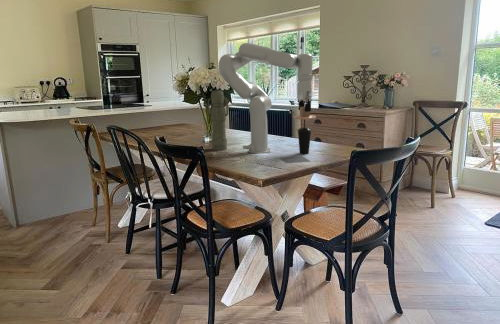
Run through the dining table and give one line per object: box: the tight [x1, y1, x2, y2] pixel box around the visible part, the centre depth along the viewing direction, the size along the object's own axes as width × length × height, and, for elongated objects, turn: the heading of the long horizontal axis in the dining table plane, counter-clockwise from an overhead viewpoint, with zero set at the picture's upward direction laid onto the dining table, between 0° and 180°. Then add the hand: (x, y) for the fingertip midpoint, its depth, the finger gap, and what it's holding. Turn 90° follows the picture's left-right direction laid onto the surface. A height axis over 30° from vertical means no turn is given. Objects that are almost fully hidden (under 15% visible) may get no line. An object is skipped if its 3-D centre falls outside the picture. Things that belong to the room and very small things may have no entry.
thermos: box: [207, 89, 229, 152], centre depth 223 cm, size 9×12×35 cm
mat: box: [279, 155, 312, 164], centre depth 194 cm, size 13×13×1 cm
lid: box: [293, 106, 317, 120], centre depth 203 cm, size 12×12×6 cm
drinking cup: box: [296, 119, 312, 155], centre depth 206 cm, size 8×8×20 cm
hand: (304, 110), depth 203 cm, fingers open, 9 cm apart
